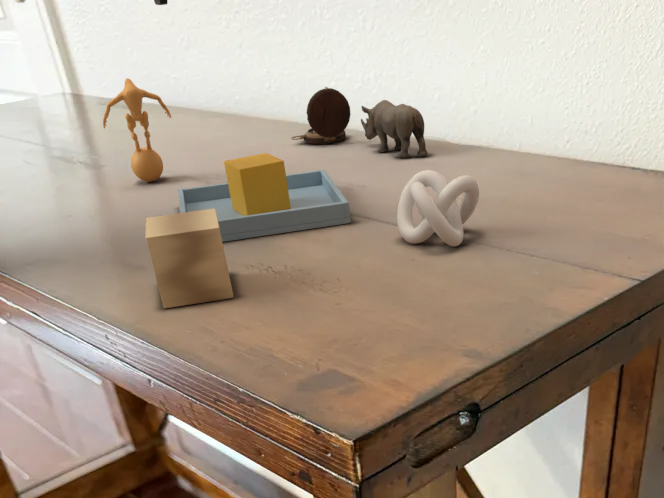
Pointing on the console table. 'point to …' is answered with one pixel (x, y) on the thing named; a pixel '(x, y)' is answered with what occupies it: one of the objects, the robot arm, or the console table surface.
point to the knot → (436, 207)
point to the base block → (188, 258)
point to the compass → (326, 117)
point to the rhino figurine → (395, 126)
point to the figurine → (144, 159)
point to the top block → (257, 184)
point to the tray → (306, 211)
